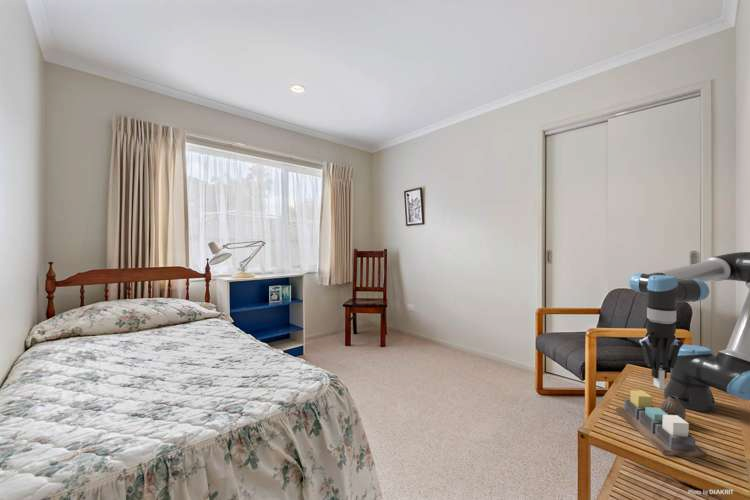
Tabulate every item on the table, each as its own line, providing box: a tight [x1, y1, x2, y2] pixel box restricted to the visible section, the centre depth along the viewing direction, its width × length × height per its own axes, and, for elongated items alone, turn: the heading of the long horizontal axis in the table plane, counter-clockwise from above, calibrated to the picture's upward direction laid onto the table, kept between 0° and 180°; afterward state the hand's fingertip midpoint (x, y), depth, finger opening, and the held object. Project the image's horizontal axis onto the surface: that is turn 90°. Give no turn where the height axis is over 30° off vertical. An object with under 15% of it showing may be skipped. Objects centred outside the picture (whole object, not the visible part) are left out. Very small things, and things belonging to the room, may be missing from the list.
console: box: [615, 398, 707, 458], centre depth 112 cm, size 12×24×6 cm, turn 173°
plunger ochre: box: [629, 389, 653, 408], centre depth 119 cm, size 4×4×5 cm
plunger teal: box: [645, 406, 668, 421], centre depth 112 cm, size 4×4×5 cm
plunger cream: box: [662, 415, 690, 437], centre depth 104 cm, size 4×4×5 cm
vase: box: [659, 396, 687, 420], centre depth 118 cm, size 7×7×9 cm
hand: (658, 386), depth 111 cm, fingers closed
